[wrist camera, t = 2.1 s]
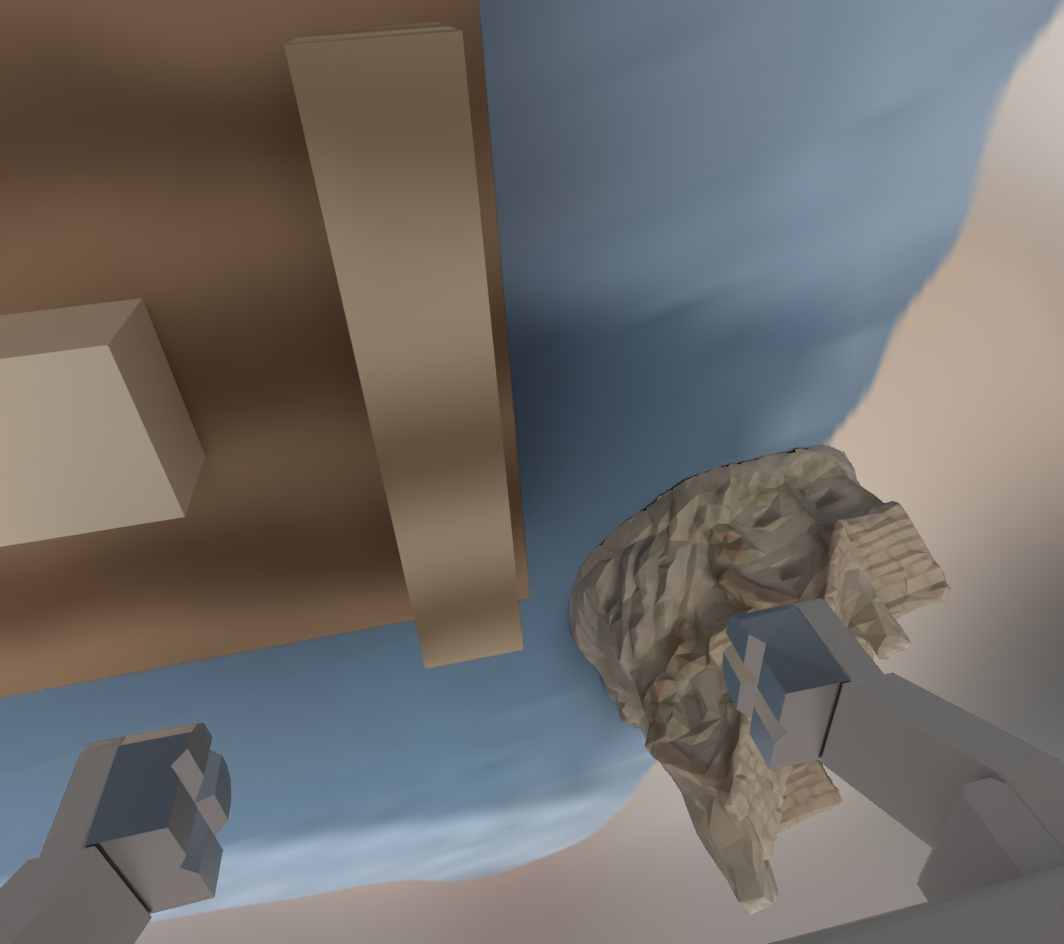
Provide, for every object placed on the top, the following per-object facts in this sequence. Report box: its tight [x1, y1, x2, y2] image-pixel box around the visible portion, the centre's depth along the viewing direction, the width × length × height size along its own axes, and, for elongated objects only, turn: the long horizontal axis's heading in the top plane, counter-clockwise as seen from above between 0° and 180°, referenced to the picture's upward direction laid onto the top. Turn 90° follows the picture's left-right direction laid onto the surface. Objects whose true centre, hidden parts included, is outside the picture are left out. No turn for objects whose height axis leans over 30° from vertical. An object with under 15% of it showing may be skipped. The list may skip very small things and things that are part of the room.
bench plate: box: [0, 0, 530, 698], centre depth 21 cm, size 22×21×4 cm
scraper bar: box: [284, 22, 524, 669], centre depth 18 cm, size 16×3×5 cm, turn 3°
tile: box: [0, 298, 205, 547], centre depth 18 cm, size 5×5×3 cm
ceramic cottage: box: [568, 445, 951, 916], centre depth 30 cm, size 16×16×15 cm
